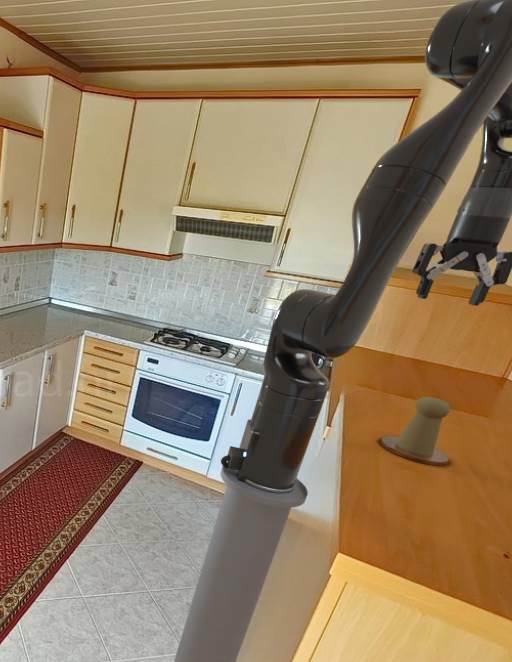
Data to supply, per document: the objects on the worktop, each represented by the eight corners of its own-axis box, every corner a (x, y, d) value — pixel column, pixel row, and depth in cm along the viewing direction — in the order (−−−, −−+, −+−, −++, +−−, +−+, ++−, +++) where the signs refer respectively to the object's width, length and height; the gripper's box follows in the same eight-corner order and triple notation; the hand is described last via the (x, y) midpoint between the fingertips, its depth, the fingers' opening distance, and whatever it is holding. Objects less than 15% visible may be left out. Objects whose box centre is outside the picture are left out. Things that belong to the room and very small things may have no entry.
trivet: (392, 457, 97) (394, 453, 97) (372, 435, 107) (373, 431, 107) (458, 470, 94) (460, 466, 94) (431, 446, 104) (433, 443, 104)
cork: (440, 457, 97) (463, 407, 93) (407, 452, 98) (429, 402, 94) (420, 444, 103) (442, 396, 99) (389, 439, 103) (410, 391, 100)
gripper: (448, 210, 89) (413, 299, 95) (544, 219, 85) (502, 310, 91) (428, 211, 96) (397, 293, 101) (517, 219, 92) (479, 304, 97)
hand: (447, 301), depth 96 cm, fingers open, 8 cm apart
